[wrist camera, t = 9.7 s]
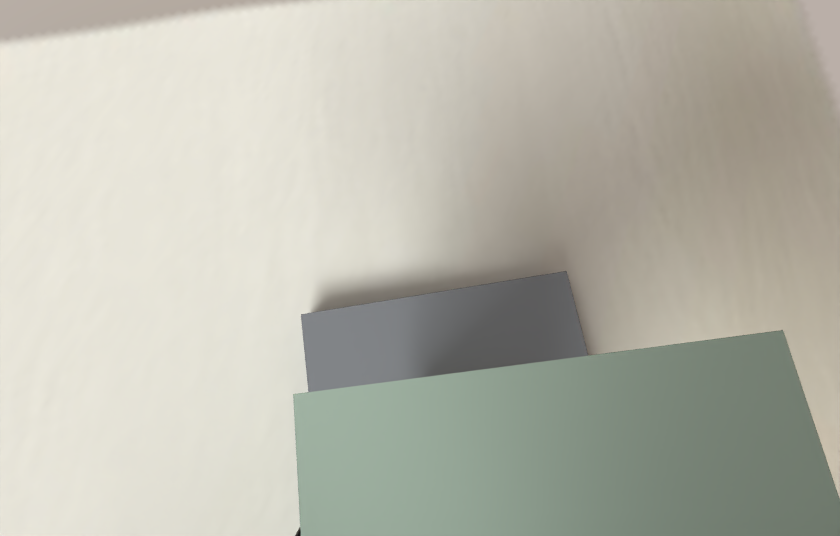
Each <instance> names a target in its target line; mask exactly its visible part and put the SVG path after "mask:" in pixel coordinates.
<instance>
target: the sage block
mask: <svg viewBox="0 0 840 536" xmlns="http://www.w3.org/2000/svg"><path fill="white" fill-rule="evenodd" d="M293 398H294V417H295V436H296V455H297V473H298V492H299V511H300V530H301V536H840V499H839V496H838V493H837V490H836V487H835V484H834V481H833V478H832V475H831V472H830V469H829V466H828V463H827V460H826V457H825V454H824V451H823V448H822V445H821V442H820V439H819V436H818V433H817V430H816V427H815V424H814V421H813V419H812V416H811V413H810V410H809V407H808V404H807V401H806V398H805V395H804V392H803V389H802V386H801V383H800V380H799V377H798V374H797V371H796V368H795V365H794V362H793V359H792V356H791V353H790V350H789V347H788V344H787V341H786V338H785V335H784V332H783V330H781V331H773V332H765V333H758V334H750V335H742V336H735V337H727V338H719V339H712V340H704V341H696V342H689V343H681V344H674V345H666V346H658V347H651V348H643V349H635V350H628V351H620V352H612V353H605V354H597V355H589V356H582V357H574V358H567V359H559V360H551V361H544V362H536V363H528V364H521V365H513V366H505V367H498V368H490V369H482V370H475V371H467V372H460V373H452V374H444V375H437V376H429V377H421V378H414V379H406V380H398V381H391V382H383V383H375V384H368V385H360V386H353V387H345V388H337V389H330V390H322V391H314V392H307V393H299V394H293Z"/></svg>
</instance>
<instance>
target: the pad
mask: <svg viewBox="0 0 840 536" xmlns="http://www.w3.org/2000/svg"><path fill="white" fill-rule="evenodd" d="M301 320H302V330H303V340H304V350H305V360H306V371H307V381H308V391H309V392H314V391H322V390H330V389H337V388H345V387H353V386H360V385H368V384H375V383H383V382H391V381H398V380H406V379H414V378H421V377H429V376H437V375H444V374H452V373H460V372H467V371H475V370H482V369H490V368H498V367H505V366H513V365H521V364H528V363H536V362H544V361H551V360H559V359H567V358H574V357H582V356H588V353H587V349H586V345H585V341H584V338H583V334H582V330H581V326H580V322H579V318H578V314H577V310H576V306H575V302H574V299H573V295H572V291H571V287H570V283H569V279H568V275H567V271H564V272H558V273H552V274H546V275H539V276H533V277H527V278H521V279H515V280H509V281H503V282H497V283H490V284H484V285H478V286H472V287H466V288H460V289H454V290H448V291H441V292H435V293H429V294H423V295H417V296H411V297H405V298H399V299H392V300H386V301H380V302H374V303H368V304H362V305H356V306H350V307H343V308H337V309H331V310H325V311H319V312H313V313H307V314H301Z"/></svg>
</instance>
